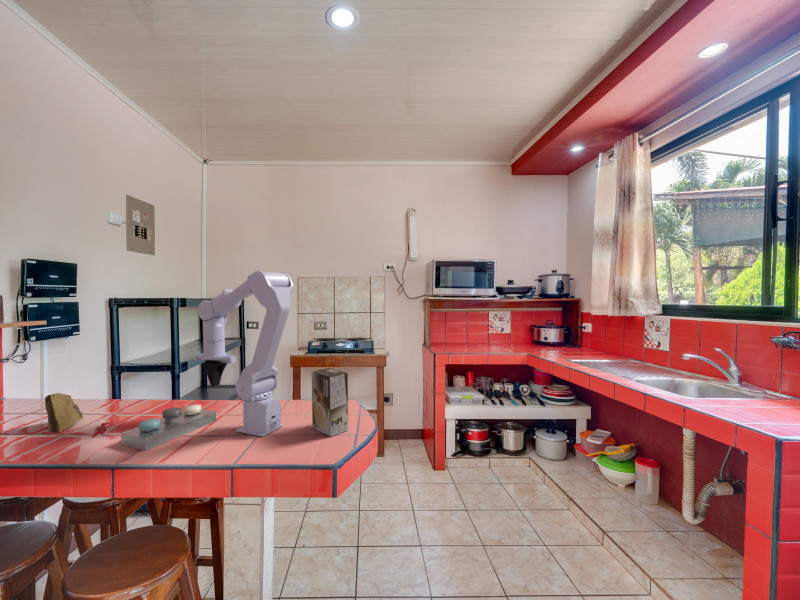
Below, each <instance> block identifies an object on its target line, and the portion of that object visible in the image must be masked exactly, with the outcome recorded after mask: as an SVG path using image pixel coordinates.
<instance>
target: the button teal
mask: <svg viewBox="0 0 800 600" xmlns="http://www.w3.org/2000/svg"><path fill="white" fill-rule="evenodd" d="M160 419H161V418H160ZM160 419H159V418H149V419H145V420H142V421H139V423H138V427H139V430H140V431H143V432H147V433H148V432H151V431H153V430H156V429H158V428H159V427H160Z"/></svg>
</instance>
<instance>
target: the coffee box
mask: <svg viewBox="0 0 800 600" xmlns="http://www.w3.org/2000/svg"><path fill="white" fill-rule="evenodd" d="M348 375H349V373H348V372H345V371H343V370H338V369H334V368H330V367H328V368H327V367H326V368H321V369H318V370H315V371H311V409H312V410H311V413H312V414H311V416H312V420H311V422H312V423H311V424H312V429H314V430H315V431H318V432H320V433H323V434H324V435H326V436H328V437H334V436H336V435H339V434H342V433H344V432H347V431H349V377H348Z"/></svg>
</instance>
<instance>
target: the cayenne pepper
mask: <svg viewBox="0 0 800 600" xmlns="http://www.w3.org/2000/svg"><path fill="white" fill-rule="evenodd" d="M109 423H111V424H113V423H112V421H111V422H102V423H101V424H100V425H99V426H96V431H95V433H94V434H93V435H92V436H91V439H94V438H96V437H95V436H97V435H99V434H102V435H103V433H104V432H105V431H106V432H107V427H108V426H105V425H107V424H109ZM109 425H110V424H109ZM106 432H105V433H106ZM105 433H104V434H105ZM93 437H94V438H93ZM97 437H98V436H97Z"/></svg>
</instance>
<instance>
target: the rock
mask: <svg viewBox="0 0 800 600" xmlns="http://www.w3.org/2000/svg"><path fill="white" fill-rule="evenodd" d="M44 408H45V412H46V414H47V428H48V431H49V432H52V433H59V432H60V433H62V432H61V431H63V430H64V431H65V429H66V430H68V429H70V428H72V427H73V426H75V425H76V424H77V423H78V422H79V421H81V420H82V419H83V418H84V415H83V413H82V411H81V410H80V408H79V406H78V404H76V403H75V402H74V400H73V399H72V396H71V395H69V394H66V393H62V392H57V393H56V392H55V393H52V394H48V395H46V396H45V397H44ZM69 427H70V428H69ZM67 428H68V429H67ZM64 431H63V432H64Z"/></svg>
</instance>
